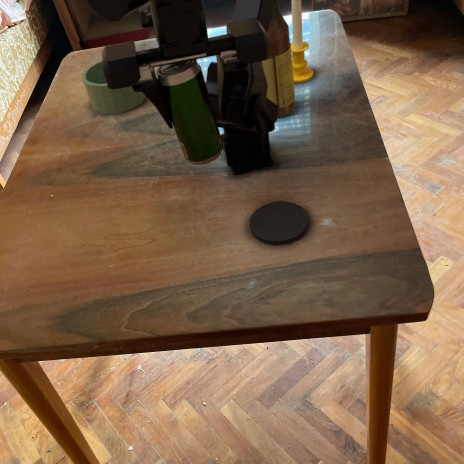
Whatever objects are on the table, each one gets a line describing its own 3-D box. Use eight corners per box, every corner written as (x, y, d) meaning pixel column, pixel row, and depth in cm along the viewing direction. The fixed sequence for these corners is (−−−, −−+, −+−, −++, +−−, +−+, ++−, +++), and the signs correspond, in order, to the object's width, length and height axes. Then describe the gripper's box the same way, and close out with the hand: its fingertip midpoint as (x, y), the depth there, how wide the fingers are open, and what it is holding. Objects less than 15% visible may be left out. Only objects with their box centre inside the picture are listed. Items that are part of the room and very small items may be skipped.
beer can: (197, 171, 67) (165, 81, 58) (179, 156, 70) (147, 69, 61) (231, 152, 68) (206, 61, 59) (212, 137, 71) (185, 49, 62)
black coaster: (297, 199, 74) (297, 195, 73) (316, 236, 69) (316, 231, 68) (243, 213, 73) (243, 209, 73) (258, 251, 68) (258, 247, 68)
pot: (143, 79, 102) (135, 51, 98) (150, 105, 95) (142, 76, 91) (90, 92, 102) (80, 64, 97) (94, 119, 95) (83, 91, 91)
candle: (280, 81, 95) (274, -13, 83) (291, 67, 97) (287, -26, 85) (306, 84, 93) (304, -11, 81) (317, 70, 95) (317, -25, 83)
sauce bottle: (293, 97, 91) (287, -31, 75) (297, 116, 87) (292, -15, 71) (256, 102, 91) (243, -24, 76) (258, 122, 87) (245, -7, 72)
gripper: (245, -53, 60) (255, 80, 71) (85, -24, 59) (121, 106, 71) (267, -24, 52) (274, 119, 64) (84, 10, 52) (125, 149, 63)
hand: (196, 121), depth 66 cm, fingers closed on beer can, 6 cm apart
